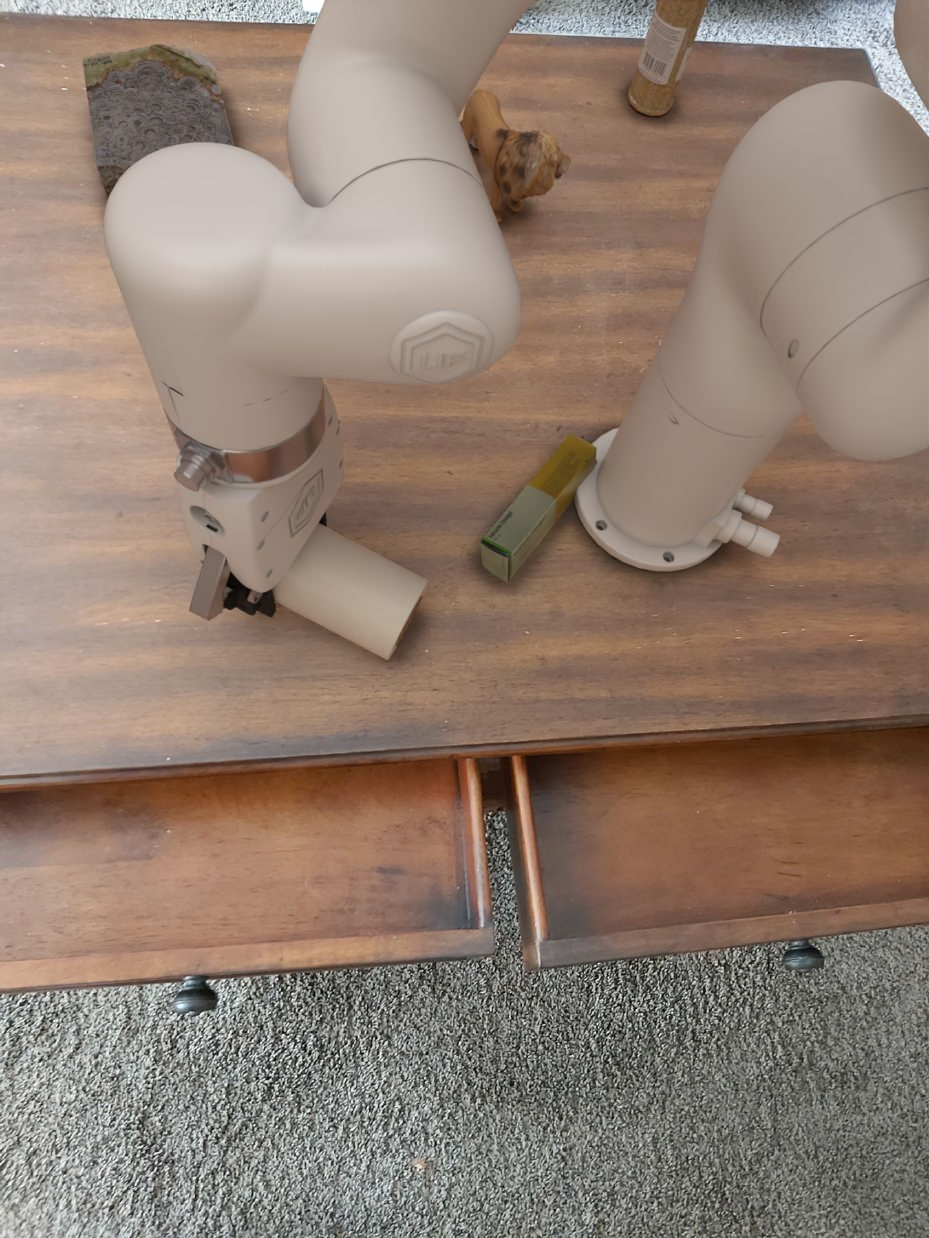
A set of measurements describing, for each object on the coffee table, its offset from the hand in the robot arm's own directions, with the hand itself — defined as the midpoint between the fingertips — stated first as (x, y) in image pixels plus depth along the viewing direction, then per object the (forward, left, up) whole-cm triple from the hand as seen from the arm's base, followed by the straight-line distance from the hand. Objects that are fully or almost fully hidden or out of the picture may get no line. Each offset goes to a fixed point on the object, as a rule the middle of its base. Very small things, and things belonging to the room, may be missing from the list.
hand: (280, 563), depth 57 cm
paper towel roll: (-10, 0, +1) cm, 10 cm away
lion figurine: (+2, -42, -2) cm, 42 cm away
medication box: (-15, -13, -3) cm, 20 cm away
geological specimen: (+28, -30, -2) cm, 41 cm away
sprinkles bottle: (-6, -61, -2) cm, 61 cm away
